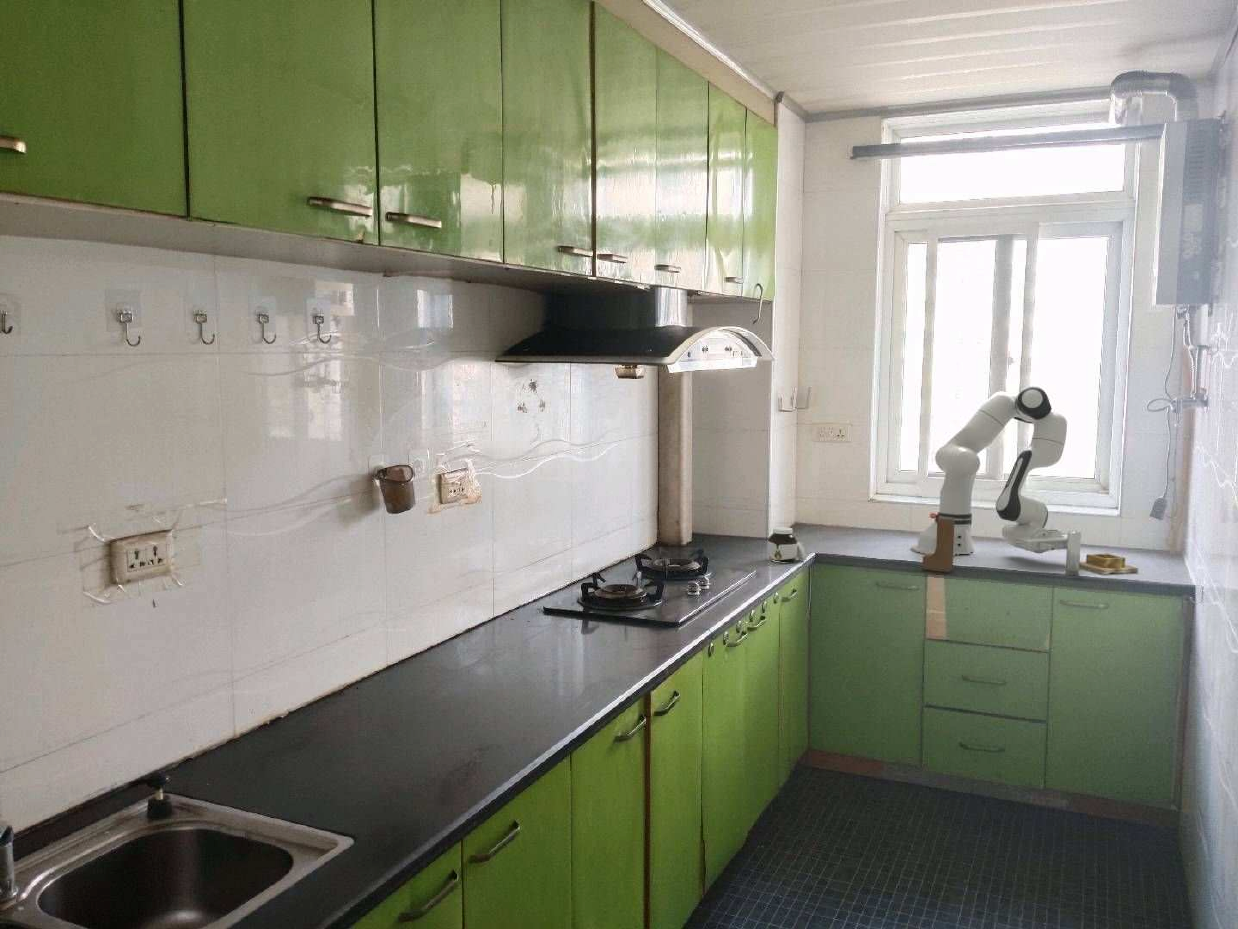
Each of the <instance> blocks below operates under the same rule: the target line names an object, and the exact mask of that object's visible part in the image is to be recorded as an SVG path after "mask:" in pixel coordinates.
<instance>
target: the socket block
mask: <svg viewBox="0 0 1238 929" xmlns="http://www.w3.org/2000/svg"><path fill="white" fill-rule="evenodd" d="M1085 558H1086V559H1085V560H1084V561H1083V560H1082V561H1080V562H1079V569H1081V570H1084V569H1085V570H1084V571H1088V570H1090V571H1089V572H1091V571H1093V572H1092V573H1094V572H1096V574H1098V573H1100V574H1099V575H1101V574H1105V575H1109V574H1108V573H1123V574H1127V573H1126V572H1138V573H1139V567H1134V566H1133V565H1128V564H1126V557H1123V556H1119V555H1115V554H1111V553H1108V552H1106V553H1091V554H1090V553H1088V554H1086V557H1085Z"/></svg>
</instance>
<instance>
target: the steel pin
mask: <svg viewBox="0 0 1238 929" xmlns="http://www.w3.org/2000/svg"><path fill="white" fill-rule="evenodd" d="M1067 534H1068V535H1067V549H1066V558H1065V561H1066V562H1065V574H1066V575H1067V576H1079V575H1080V568H1079V562H1081V561H1080V558H1081V540H1082V539H1081V537H1082V532H1080V531H1074V530H1072V531H1071V530H1069V531H1067Z"/></svg>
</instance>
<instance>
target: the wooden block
mask: <svg viewBox="0 0 1238 929" xmlns="http://www.w3.org/2000/svg"><path fill="white" fill-rule="evenodd" d="M954 522H955V519H954V518H951V517H940V518H938V519H937V542H936V550H935V553H933V554H924V556H922V567H921V568H922V570H925V571H932V572H940V573H950V572H953V569H954V555H953V548H954Z"/></svg>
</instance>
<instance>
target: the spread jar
mask: <svg viewBox="0 0 1238 929" xmlns="http://www.w3.org/2000/svg"><path fill="white" fill-rule="evenodd" d="M793 532H794V531H793V528H792V527H786V526H778V527H777V526H775V527H773V528H772V533H771V535H770V536H769V537H768V539H767V556H768V558H769V560H770V559H772V560H775V561H780V562H791V561H793V562H794V561H795V560H796V559H798V558H799V559H801V560H802V561H801V562H803V561H807V553H806V550H805V548H804V546H803V545H802V543H801V542H800V541H798V540H797V538H796V536H795V535H794V533H793ZM799 559H798V560H799ZM791 563H792V562H791Z"/></svg>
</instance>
